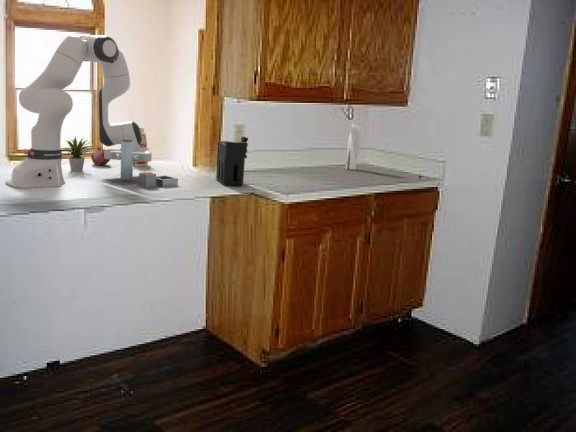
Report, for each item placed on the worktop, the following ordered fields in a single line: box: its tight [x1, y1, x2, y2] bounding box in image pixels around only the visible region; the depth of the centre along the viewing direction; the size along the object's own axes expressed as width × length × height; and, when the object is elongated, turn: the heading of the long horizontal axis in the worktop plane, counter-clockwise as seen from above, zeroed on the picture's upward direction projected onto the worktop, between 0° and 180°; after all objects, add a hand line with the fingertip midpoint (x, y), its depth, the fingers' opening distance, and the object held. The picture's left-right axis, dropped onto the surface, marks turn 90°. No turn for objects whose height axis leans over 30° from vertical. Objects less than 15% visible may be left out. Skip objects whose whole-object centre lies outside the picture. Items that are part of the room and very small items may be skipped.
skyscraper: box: [342, 121, 362, 171], centre depth 354 cm, size 8×8×28 cm
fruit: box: [90, 145, 111, 166], centre depth 297 cm, size 9×10×10 cm
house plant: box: [63, 135, 92, 173], centre depth 275 cm, size 14×14×16 cm
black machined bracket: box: [215, 136, 249, 187], centre depth 279 cm, size 12×21×22 cm, turn 21°
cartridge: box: [120, 139, 134, 179], centre depth 255 cm, size 5×5×17 cm
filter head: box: [135, 172, 179, 190], centre depth 255 cm, size 16×10×6 cm, turn 140°
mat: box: [106, 178, 139, 186], centre depth 257 cm, size 12×12×1 cm
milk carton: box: [133, 127, 149, 167], centre depth 308 cm, size 9×9×20 cm
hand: (126, 158), depth 254 cm, fingers closed on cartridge, 5 cm apart
